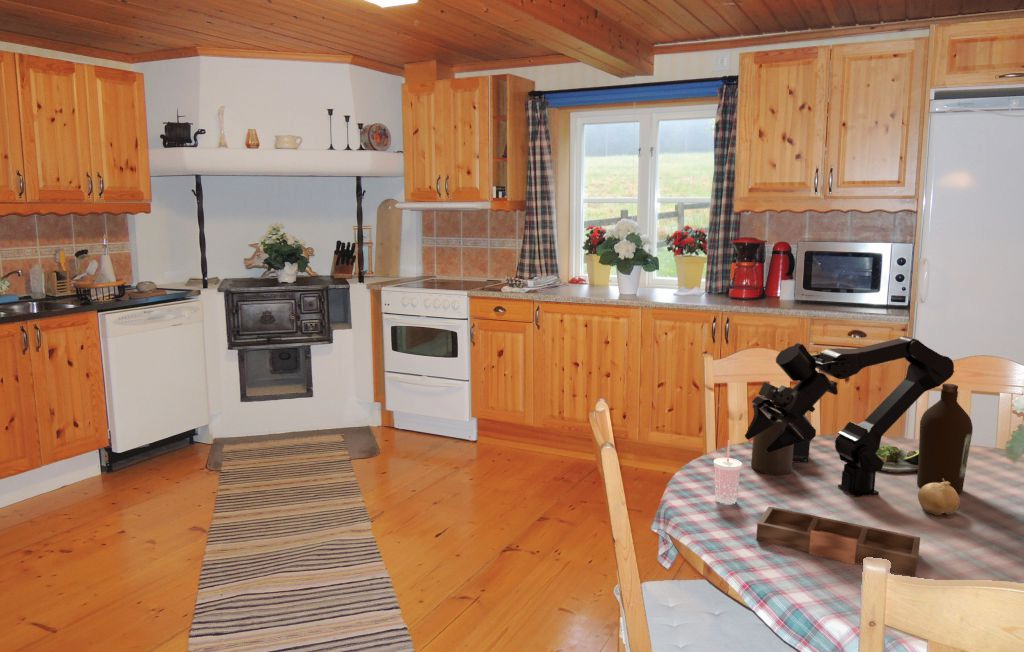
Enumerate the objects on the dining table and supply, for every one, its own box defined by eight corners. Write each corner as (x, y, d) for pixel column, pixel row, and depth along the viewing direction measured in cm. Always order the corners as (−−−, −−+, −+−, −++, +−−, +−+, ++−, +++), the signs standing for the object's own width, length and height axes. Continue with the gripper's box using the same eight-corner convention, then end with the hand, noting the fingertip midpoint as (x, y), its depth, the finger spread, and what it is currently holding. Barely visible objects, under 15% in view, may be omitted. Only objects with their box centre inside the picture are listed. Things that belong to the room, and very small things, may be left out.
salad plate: (872, 478, 186) (874, 460, 185) (831, 454, 204) (832, 438, 203) (943, 474, 189) (945, 457, 189) (896, 451, 207) (898, 435, 206)
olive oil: (913, 491, 177) (923, 387, 173) (914, 477, 186) (924, 377, 182) (966, 500, 172) (978, 392, 168) (964, 485, 181) (976, 383, 177)
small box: (810, 464, 195) (813, 424, 194) (783, 462, 197) (786, 422, 195) (803, 450, 206) (805, 413, 204) (777, 449, 207) (780, 411, 205)
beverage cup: (745, 501, 170) (749, 441, 168) (727, 508, 167) (731, 446, 165) (723, 493, 175) (726, 434, 173) (705, 499, 172) (708, 439, 169)
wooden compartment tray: (755, 541, 151) (756, 520, 150) (767, 522, 160) (769, 501, 159) (915, 578, 136) (917, 554, 136) (918, 554, 146) (920, 532, 145)
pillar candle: (764, 476, 186) (769, 417, 183) (743, 463, 195) (748, 406, 193) (799, 474, 188) (805, 415, 186) (777, 460, 198) (782, 404, 195)
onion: (957, 522, 161) (960, 490, 159) (914, 514, 165) (917, 482, 164) (959, 509, 167) (962, 479, 166) (918, 501, 171) (921, 471, 170)
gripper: (762, 361, 177) (715, 409, 177) (807, 380, 159) (755, 433, 159) (790, 393, 180) (744, 440, 180) (838, 415, 162) (786, 467, 162)
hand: (756, 444), depth 170 cm, fingers open, 9 cm apart
